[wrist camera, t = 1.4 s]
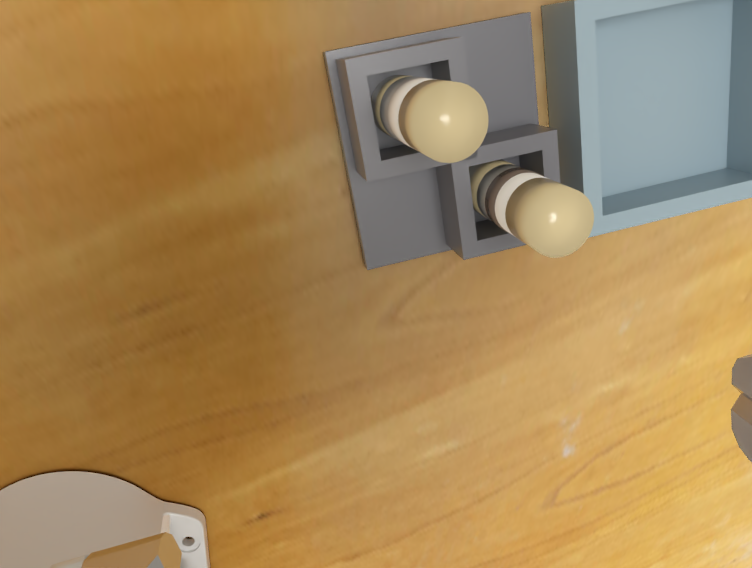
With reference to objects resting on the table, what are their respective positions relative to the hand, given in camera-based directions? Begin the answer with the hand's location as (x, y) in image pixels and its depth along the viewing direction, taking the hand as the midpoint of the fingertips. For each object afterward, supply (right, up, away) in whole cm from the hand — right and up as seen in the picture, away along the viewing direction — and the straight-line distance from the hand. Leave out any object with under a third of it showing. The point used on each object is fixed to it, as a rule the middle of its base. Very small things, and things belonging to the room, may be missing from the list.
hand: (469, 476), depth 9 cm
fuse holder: (+3, +12, +31) cm, 33 cm away
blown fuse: (+6, +9, +32) cm, 33 cm away
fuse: (0, +13, +29) cm, 32 cm away
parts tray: (+17, +15, +33) cm, 40 cm away
